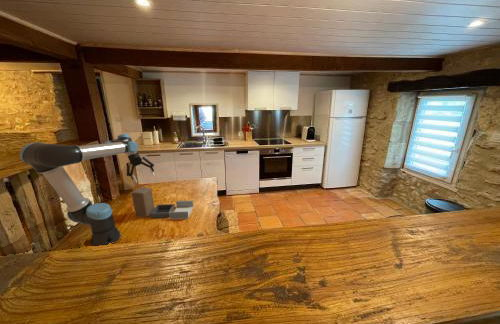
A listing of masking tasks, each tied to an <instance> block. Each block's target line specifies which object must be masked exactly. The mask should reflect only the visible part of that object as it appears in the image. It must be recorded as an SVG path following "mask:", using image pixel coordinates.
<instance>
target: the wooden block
mask: <svg viewBox="0 0 500 324" xmlns="http://www.w3.org/2000/svg"><path fill="white" fill-rule="evenodd" d="M131 197H132V203H133V208H134V213H135V216H136V217H141V218H149V216H151V215H150V213H151V212H152V211H153V209H154V208H155V202H154V195H153V191H152V188H151V187H139V188H137V189H135V190H133V191H132V192H131Z"/></svg>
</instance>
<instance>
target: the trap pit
mask: <svg viewBox="0 0 500 324" xmlns="http://www.w3.org/2000/svg"><path fill="white" fill-rule="evenodd" d="M175 210H176V205H175V203H166V204H165V203H163V204H157V205H156V206H154V209H153V211H152V212H151V213H150V215H149V216H150V218H151V219H169V218H170V212H174V211H175Z"/></svg>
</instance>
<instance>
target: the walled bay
mask: <svg viewBox="0 0 500 324" xmlns="http://www.w3.org/2000/svg"><path fill="white" fill-rule="evenodd" d="M193 209H194V201H193V200H176V207H175V209H174V211H173V212H170V220H188V219H189V218H190V216H191V214H192V211H193Z"/></svg>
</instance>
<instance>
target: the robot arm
mask: <svg viewBox="0 0 500 324" xmlns="http://www.w3.org/2000/svg"><path fill="white" fill-rule="evenodd" d="M138 149H139V145H138V143H137V142H136V141H133V140H132V138H131V136H130V135H129V133H122V134H120V135H119V134H118V135H117V136H116V138H115V139H112V140H107V141H105V142H103V143H97V144H89V145H77V144H72V145H71V144H70V145H69V144H68V145H66V144H55V143H46V142H45V143H44V142H31V143H28V144H26V145H24V146H23V147H22V148H21V149H20V151H19V158H20V160H21V161H22V162H23V163H25V164H27V165H29V166H31V167H32V169H33V170H34V171H35V173H37V174H42V175H43V176H44V177H45V179H46V180H47V182H48V183H49V184H50V185H51V187H52V188H53V189H54V190H55V192H56V194H57V195H58V196H59V197H60V198H61V199H62V201H63V203H65V205H66V209H65V210H66V215H67V218H68V219H69V220H70V221H72V222H74V223H77V224H81V225H86V226H89V227H90V230H91V237H90V244H91V247H92V246H99V245H108V244H109V243H112V242H115V241H117V240H118V239H119V238H120V239H121V237H122V236H121V232H120V230H119V229H118V228H117V226H116V224H115V220H114V216H113V215H114V214H113V210H112V208H111V206H110V205H109V204H108V203H105V202H100V203H92V201H91V200H90V198H88V197H85V196H84V195H83V194H82V191H80V189H79V188H78V186H77V185H76V184H75V182H74V180H73V179H72V178H71V176H70V175H69V173H68V172H67V170H66V169H65V168H64V167H65V166H71V165H74V164H75V165H76V164H79V163H82V162H83V161H85V160H92V159H97V158H103V157H109V156H115V155H121V154H125V155H126V156H127V158H128V161H129V162H126V163H125V164H126V165H125V166H126V176H127V177H130V178H131V180H133V182H134V183H135V184H137V183H138V180H137V178H136V176H135V175H134V172H135V171H134V170H135V168H136V167H137V166H140V165H142V166H144V167H147V168H149V171H150V173H151V176H152V177H155V175H156V174H155V173H154V172H155V170H154V166H155V164H154V163H152V162H151V161H150V160H149V159H147V158H146V156H142V157H141V156H140V154H139V152H138ZM144 161H145V162H146V163H145V162H144ZM120 239H119V240H120ZM119 240H118V241H119ZM118 241H117V242H118ZM115 243H116V242H115ZM115 243H112V245H113V244H115Z"/></svg>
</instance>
